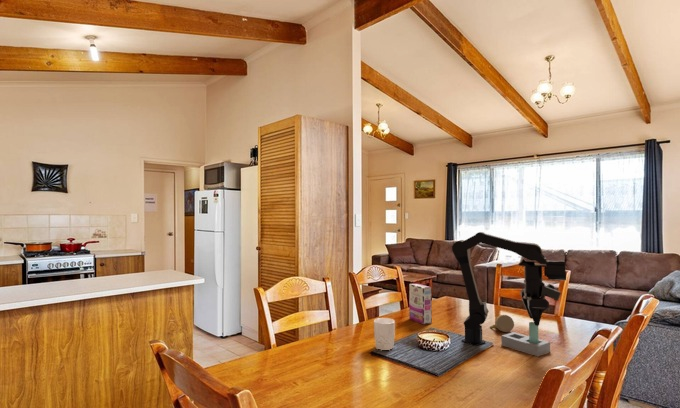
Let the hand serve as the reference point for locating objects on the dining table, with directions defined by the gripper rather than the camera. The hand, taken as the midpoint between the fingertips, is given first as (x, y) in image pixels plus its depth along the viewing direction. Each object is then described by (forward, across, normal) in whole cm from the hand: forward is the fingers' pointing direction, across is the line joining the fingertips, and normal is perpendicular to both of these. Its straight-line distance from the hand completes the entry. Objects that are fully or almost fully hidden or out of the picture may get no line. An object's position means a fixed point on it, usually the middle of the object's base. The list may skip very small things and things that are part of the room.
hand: (534, 321), depth 139 cm
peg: (+10, 0, 0) cm, 11 cm away
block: (+10, +2, +3) cm, 11 cm away
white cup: (+10, -11, +53) cm, 55 cm away
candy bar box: (+10, +28, +43) cm, 52 cm away
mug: (+11, +24, +8) cm, 27 cm away
